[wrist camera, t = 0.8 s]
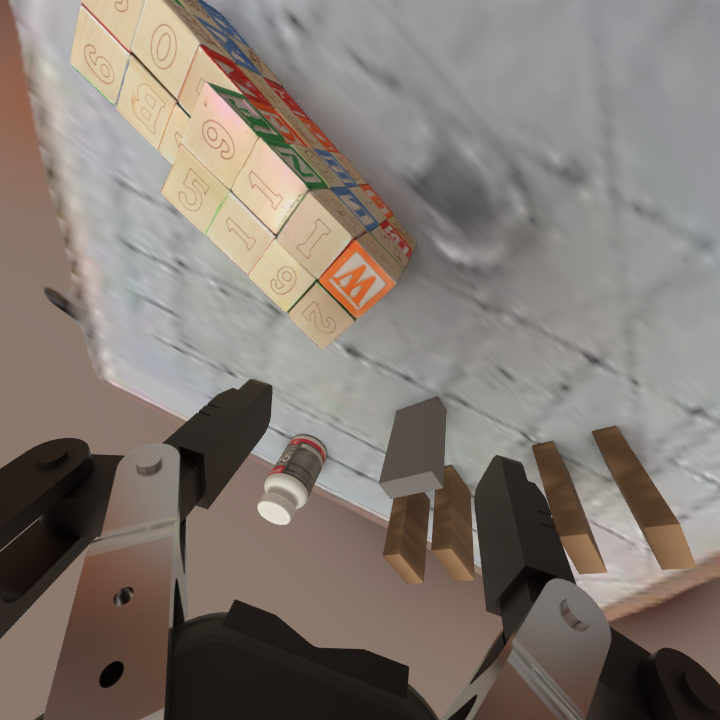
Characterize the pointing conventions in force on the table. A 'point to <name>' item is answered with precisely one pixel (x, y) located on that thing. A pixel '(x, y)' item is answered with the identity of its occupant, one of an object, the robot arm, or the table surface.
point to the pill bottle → (292, 479)
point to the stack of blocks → (245, 159)
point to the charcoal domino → (415, 450)
